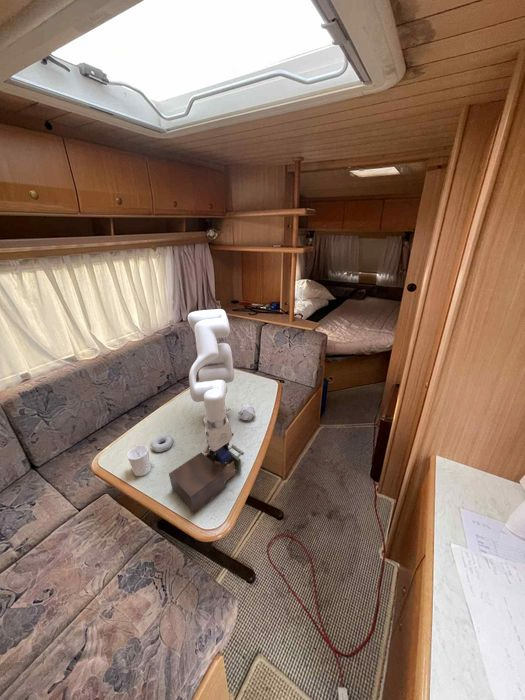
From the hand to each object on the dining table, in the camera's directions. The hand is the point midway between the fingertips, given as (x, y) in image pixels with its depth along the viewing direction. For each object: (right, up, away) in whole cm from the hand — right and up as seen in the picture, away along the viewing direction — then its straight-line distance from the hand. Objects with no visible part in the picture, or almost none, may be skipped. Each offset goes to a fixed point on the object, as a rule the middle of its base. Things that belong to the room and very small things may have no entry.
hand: (220, 455), depth 112 cm
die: (+9, +6, +36) cm, 37 cm away
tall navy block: (0, 0, 0) cm, 0 cm away
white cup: (-34, -8, +5) cm, 36 cm away
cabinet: (-8, -11, -4) cm, 14 cm away
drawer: (0, -7, +3) cm, 7 cm away
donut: (-30, -2, +18) cm, 36 cm away
